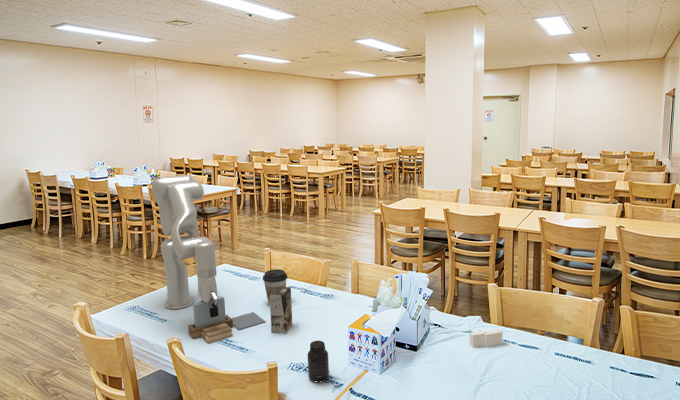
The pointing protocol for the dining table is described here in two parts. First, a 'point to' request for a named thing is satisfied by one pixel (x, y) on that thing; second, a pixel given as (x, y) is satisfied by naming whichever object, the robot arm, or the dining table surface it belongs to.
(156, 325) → the dining table surface
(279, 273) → the coffee cup
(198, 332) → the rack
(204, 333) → the offcut stack
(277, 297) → the coffee box
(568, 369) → the dining table surface
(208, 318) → the square sheet
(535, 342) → the dining table surface
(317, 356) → the supplement bottle
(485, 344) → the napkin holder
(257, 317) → the mat
